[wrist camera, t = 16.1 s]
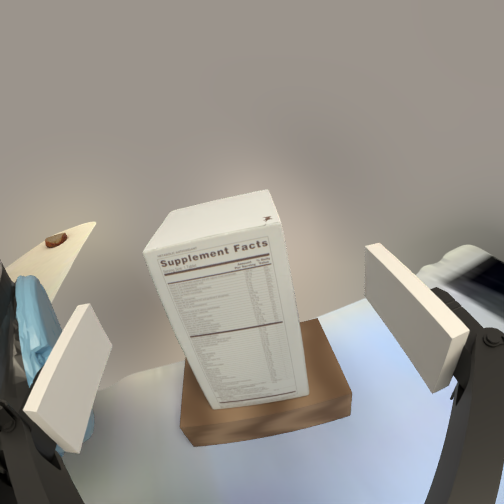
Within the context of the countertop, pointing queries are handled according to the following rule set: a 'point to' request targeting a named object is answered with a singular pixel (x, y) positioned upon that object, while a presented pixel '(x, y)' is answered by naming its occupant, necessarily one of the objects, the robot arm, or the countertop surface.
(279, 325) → the supplement box
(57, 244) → the slice of bread
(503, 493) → the countertop surface
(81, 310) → the robot arm
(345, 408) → the walnut base
